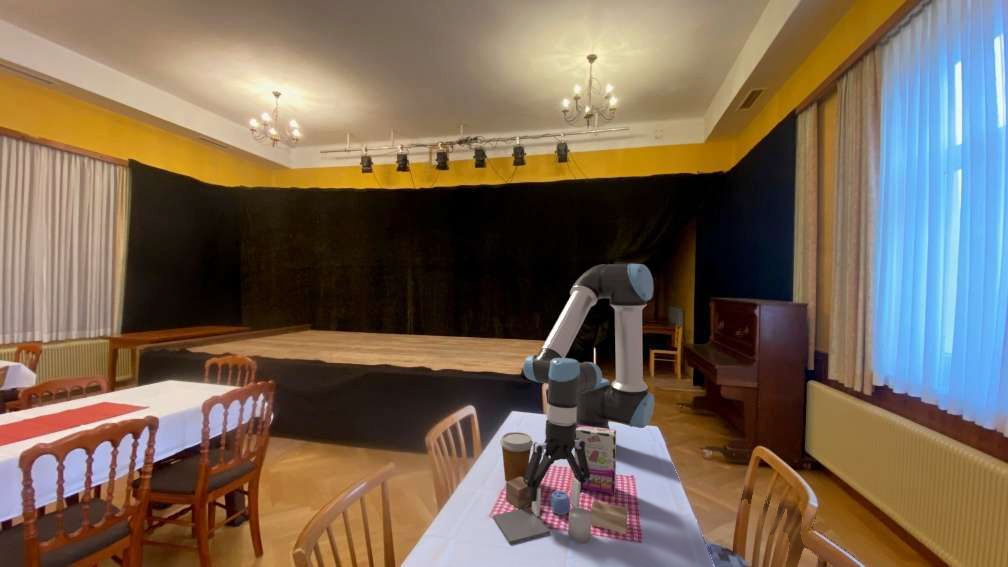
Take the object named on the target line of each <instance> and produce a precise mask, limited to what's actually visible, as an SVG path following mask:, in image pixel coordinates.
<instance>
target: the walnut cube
mask: <svg viewBox="0 0 1008 567" xmlns="http://www.w3.org/2000/svg"><path fill="white" fill-rule="evenodd" d="M523 479H524V478H523V477H521V476H520V477H518V478H515V479H512V480H510V481H505V482H506V486H505V488H506V489H505V502H507V503H508V502H509V503H508V504H510V505H511V506H512V505H513V507H514V508H515V509H516V510H519V509H523V508H526V507H528V506H530V505H532V504H531V503H532V500H531V499H530V487H528V486H527V485H526V484H525V483H524V482H523ZM529 504H530V505H529ZM527 505H528V506H527ZM525 506H526V507H525Z"/></svg>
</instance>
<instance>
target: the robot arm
mask: <svg viewBox="0 0 1008 567" xmlns="http://www.w3.org/2000/svg"><path fill="white" fill-rule="evenodd" d="M654 288H655V287H654V279H653V275H652V273H651V271H650V269H649V268H648V266H646V265H645V264H642V263H640V264H639V263H612V264H609V263H608V264H605V263H604V264H603V263H602V264H599V265H595V266H593V267H591V268H590V269H588V270H586V271H585V272H584V273H582V275H580V277H578V278H577V280H576V281H575V282H574V283H573V285H572V287H571V289H570V290H569V294H570V297H569V299H568V300H567V302H566V303H565V306H564V308H563V309H562V311H561V312H560V314H559V316H558V319H557V320H556V322H555V323H554V325H553V327H552V329H551V330H550V332H549V333H548V336H547V337H546V340H545V341H544V343H543V345H542V346H541V349H540V350H539V351H538V354H530V355H529V356H526V358H525V360H524V362H523V374H524V376H525V377H526V378H527V379H528V380H531V381H534V382H536V383H541V384H542V383H543V384H547V385H548V386H547V405H546V420H545V440H544V442H542V443H539V442H537V441H536V442H533V445H532V447H533V449H532V454H531V455H530V458H529V465H528V468H527V471H526V473H525V476H524V479H523V482H524V483H525V484H526V485H527V486H528V487H530V499H531V500H532V504H531V509H532V512H533V513H534V514H535V515H536V516H538V517H540V514H541V513H540V512H541V499H542V498H541V497H542V496H541V494H542V488H541V487H540V485H541V483H542V482H543V480H544V477H545V476H546V475H547V473H548V471H549V469H550V467H551V466H552V465H553V464H554V463H555V461H559V460H566V462H567V464H568V465H569V467H570V469H571V471H572V473H573V476H574V475H575V477H576V478H574V477H572V479H571V490H570V491H571V493H570V505H572V506H573V508H576V507H579V508H580V502H581V501H580V499H581V498H580V497H581V494H582V493H583V489H582V488H583V483H585V482H586V479H585V478H589V477H590V472H589V468H588V463H587V459H586V454H585V442H584V441H582V440H581V439H579V438H577V439H576V440H575V435H576V427H577V425H584V426H591V427H599V428H606V429H611V428H610V425H609V421H610V422H614V423H618V424H622V425H625V426H628V427H631V428H633V427H634V428H638V429H644V428H645V427H647V426H648V425H649V423H650V421H651V419H652V416H653V413H654V409H655V396H654V394H653V393H651V392H649V390H648V389H649V387H648V384H647V383H646V382H645V381H644V378H643V377H644V374H643V373H644V372H643V369H644V365H643V361H644V360H643V357H644V356H643V310H644V308H646V306H648V304H647V303H648V301H650V300H651V299H652V298H653V296H654ZM600 299H609V306H611V307H612V308H613V310H614V329H615V330H614V332H615V333H614V336H615V339H614V340H615V343H614V344H615V379H614V381H612V382H610V380H609V379H606V378H603V374H602V373H603V372H602V370H601V368H600V366H598V365H597V364H596V363H594V362H591V361H583V362H579V360H577V359H574V358H570V357H569V358H567V357H566V356H567V354H568V353H569V351H570V348H571V347H572V344H573V342H574V340H575V339H576V336H577V335H578V333H579V331H580V329H581V327H582V324H583V323H584V321H585V319H586V317H587V315H588V313H589V311H590V309H591V307H593V306H595V305H596V304H597V302H598V300H600ZM610 384H611V385H610ZM575 448H576V453H577V458H578V462H579V466H580V469H579V467H578V465H577V463H576V461H575V455H574V453H573V449H575ZM544 450H545V451H544Z"/></svg>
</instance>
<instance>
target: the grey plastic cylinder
mask: <svg viewBox="0 0 1008 567" xmlns="http://www.w3.org/2000/svg"><path fill="white" fill-rule="evenodd" d="M567 524H568V526H567V527H568V530H567V535H568V538H569V539H570V540H571V541H573V542H574V543H576V544H587V543H588V542H590V541H591V538H592V537H591V536H592V525H591V511H589V510H588V509H586V508H584V507H580V506H579V507H576V508H575V507H572V508H570V510H569V512H568V523H567Z"/></svg>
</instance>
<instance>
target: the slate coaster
mask: <svg viewBox="0 0 1008 567" xmlns="http://www.w3.org/2000/svg"><path fill="white" fill-rule="evenodd" d="M492 519H493V521H494V522H495V524H496V526H497V527H498V528H499V530H500V532H501V533H502V534H503V536H504V538H505V539H506V541H507V543H508V544H509V545H513V544H516V543H520V542H523V541H528V540H531V539H535V538H539V537H542V536H546V535H550V533H551V531H550V530H549V528H548V527H547V526H546V525H545V523H544V522H543V521H542V520H541V518H540V517H539V516H536V515H535V514H534V513H533V512H532V507H531V506H527V507H523V508H521V509H519V510H518V509H516V510H510V511H505V512H503V513H499V514H493V515H492Z"/></svg>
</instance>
